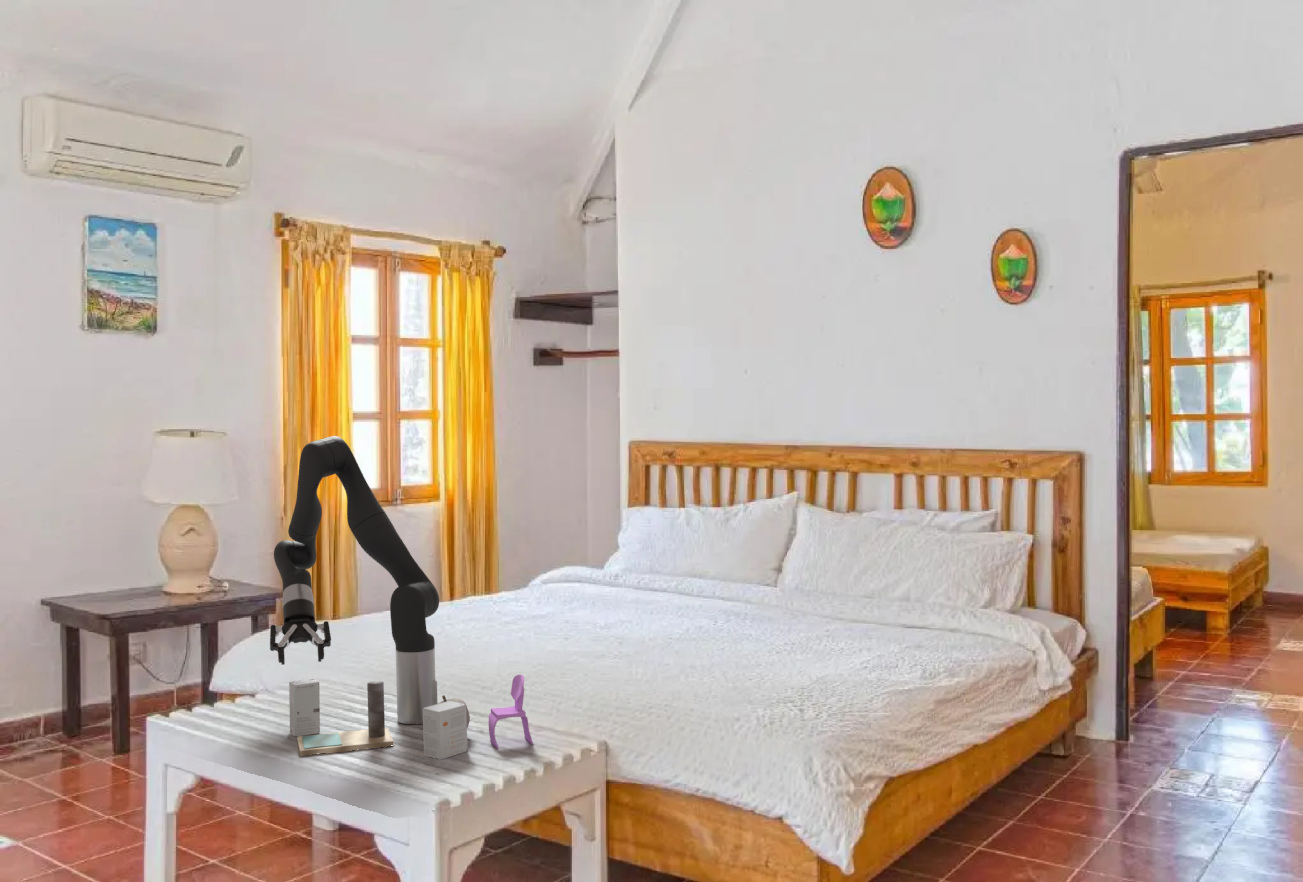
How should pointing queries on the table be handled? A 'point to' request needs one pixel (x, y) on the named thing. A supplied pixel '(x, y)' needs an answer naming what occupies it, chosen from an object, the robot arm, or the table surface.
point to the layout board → (354, 739)
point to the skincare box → (304, 707)
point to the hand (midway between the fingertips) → (301, 661)
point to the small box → (444, 730)
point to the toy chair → (511, 710)
